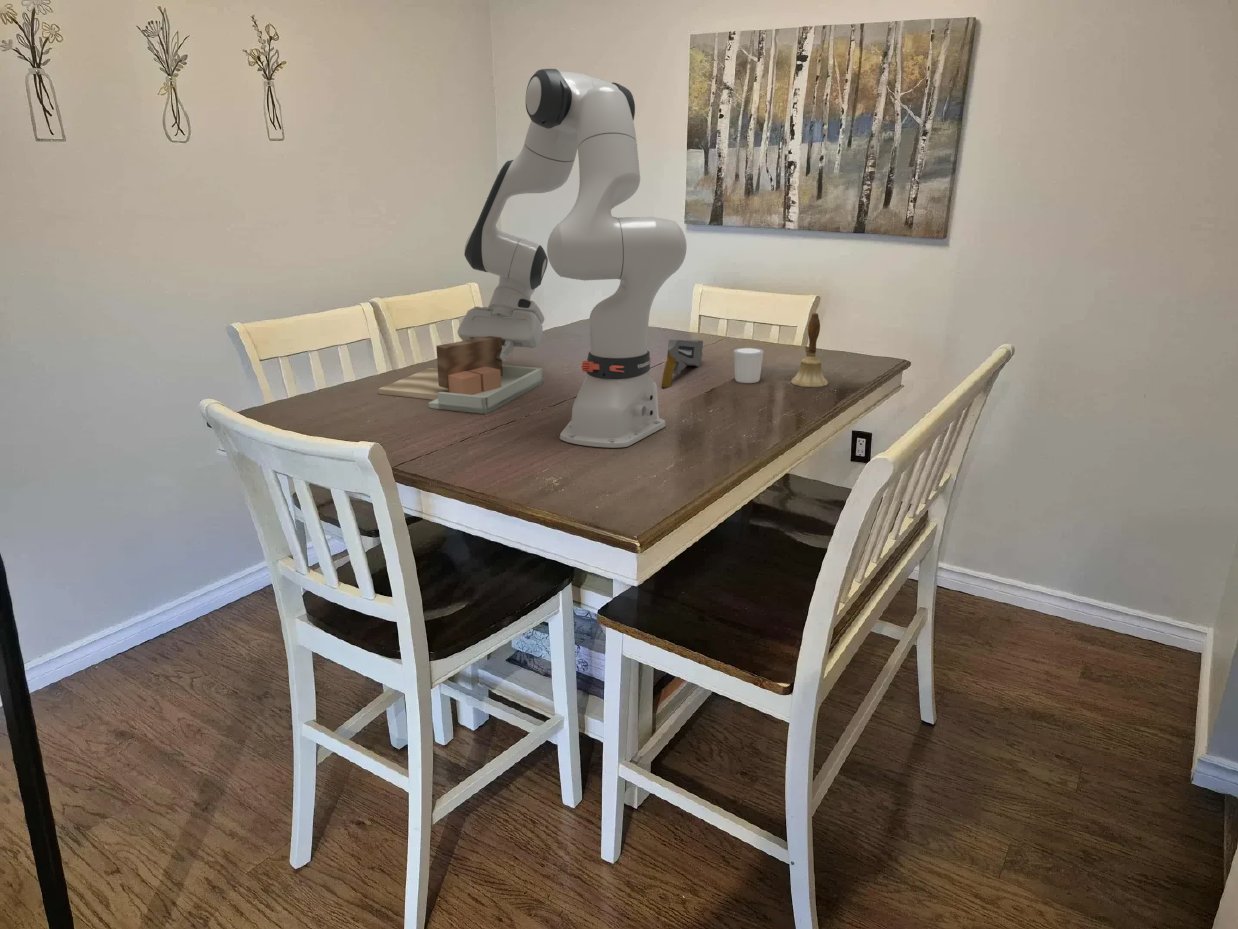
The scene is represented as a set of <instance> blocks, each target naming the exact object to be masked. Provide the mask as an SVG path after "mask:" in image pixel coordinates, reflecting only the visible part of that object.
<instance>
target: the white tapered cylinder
mask: <svg viewBox="0 0 1238 929" xmlns="http://www.w3.org/2000/svg"><path fill="white" fill-rule="evenodd" d="M763 357H764V350H763V349H761V348H755V347H739V348H735V349H733V362H734V363H733V364H734V380H735V381H736V382H737V383H742V384H753V383H758V382H760V380H761V372H762V365H763Z"/></svg>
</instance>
